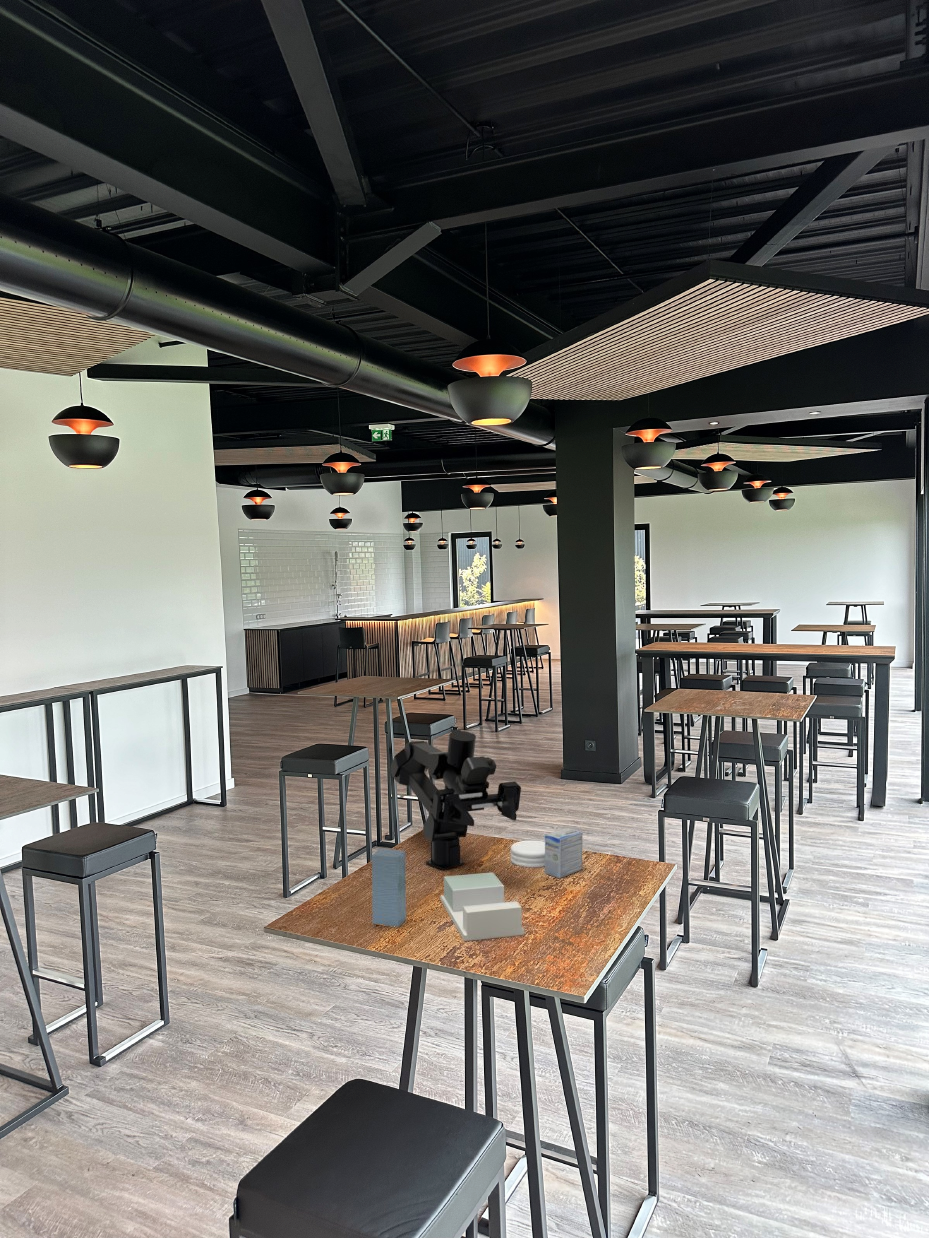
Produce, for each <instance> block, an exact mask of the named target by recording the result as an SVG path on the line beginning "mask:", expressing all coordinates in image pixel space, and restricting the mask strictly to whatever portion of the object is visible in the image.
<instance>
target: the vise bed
mask: <svg viewBox="0 0 929 1238" xmlns="http://www.w3.org/2000/svg"><path fill="white" fill-rule="evenodd" d="M440 902H441V903H442V905H443V906H444V909H445V910H446V912H447V914H448V915H449V917H450V919H451V921H452V922H453V924H454V926H455V927H456V929H457V931H458V933H459V934H460V936H461V938H462V940H463V942H468V941H470V942H471V941H480V940H488V939H497V938H508V937H516V936H524V935H525V928H524V927H523V926H522V924H523V922H522V918H523V917H522V913H523V912H522V909H523V908H522V906H521V904H520V903H519V902H518V901H517V900H515V901H504V902H503V903H493V904H483V905H472V906H463V911H454V912H453V911H452V909H451V907H450V905H449V904H448V902H447V900H446V899H445V897H444V894H441V895H440Z"/></svg>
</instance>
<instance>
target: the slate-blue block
mask: <svg viewBox="0 0 929 1238" xmlns="http://www.w3.org/2000/svg"><path fill="white" fill-rule="evenodd" d="M371 871H372V872H371V874H372V875H371V876H372V877H371V878H372V879H371V881H372V883H371V884H372V887H371V888H372V890H371V893H372V895H371V897H372V899H371V900H372V903H371V904H372V924H373V923H375V924H384V925H387V926H395V927H399V926H400V925H401V926H402V925H403V924H404V922H405V921H406V920H407V912H406V911H407V908H406V907H407V906H406V905H407V902H406V901H407V900H406V899H407V898H406V892H407V891H406V889H407V888H406V885H407V884H406V875H407V874H406V850H401V849H391V848H390V849H388V848H379V849H377V851H376V852H374V853H372V855H371ZM401 926H400V927H401ZM400 927H399V928H400Z"/></svg>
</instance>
